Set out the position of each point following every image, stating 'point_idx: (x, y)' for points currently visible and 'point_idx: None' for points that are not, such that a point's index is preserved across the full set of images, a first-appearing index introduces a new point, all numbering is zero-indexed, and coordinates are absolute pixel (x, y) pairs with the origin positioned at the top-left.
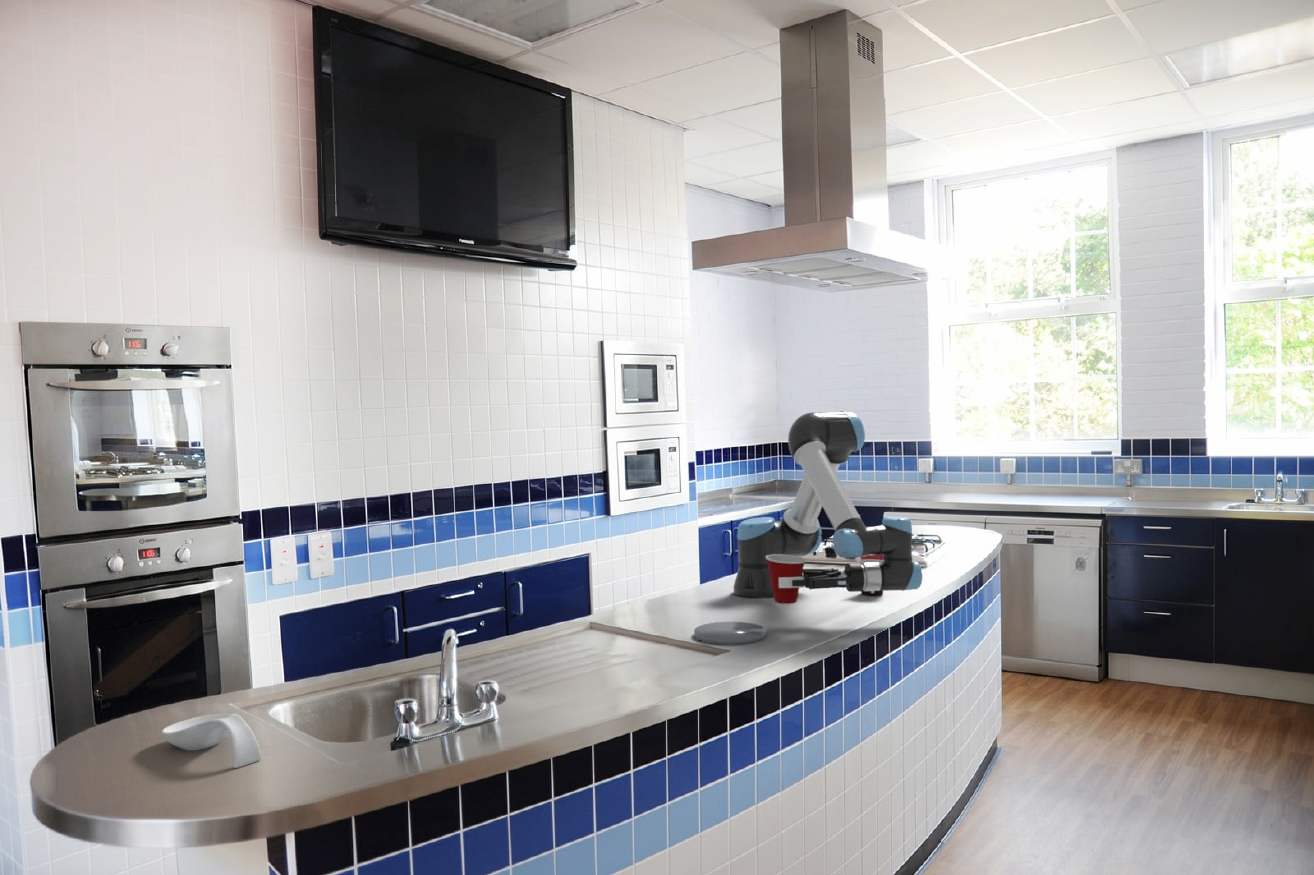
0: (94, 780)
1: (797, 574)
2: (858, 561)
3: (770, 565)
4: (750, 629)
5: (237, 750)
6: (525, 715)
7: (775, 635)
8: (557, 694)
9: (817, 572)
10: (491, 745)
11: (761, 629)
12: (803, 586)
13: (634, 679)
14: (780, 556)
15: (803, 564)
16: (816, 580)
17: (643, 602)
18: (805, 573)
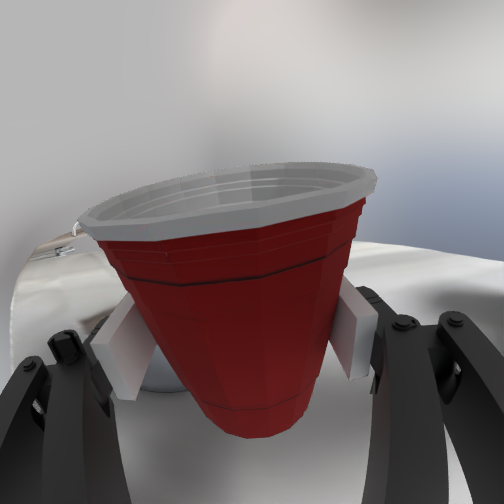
0: None
1: (141, 311)
2: None
3: (198, 207)
4: (162, 357)
5: (72, 230)
6: (52, 261)
7: (146, 411)
8: (71, 262)
9: (384, 485)
10: (32, 261)
11: (153, 374)
12: (116, 391)
13: (64, 281)
14: (343, 176)
15: (136, 259)
16: (8, 392)
17: (410, 249)
18: (384, 380)
